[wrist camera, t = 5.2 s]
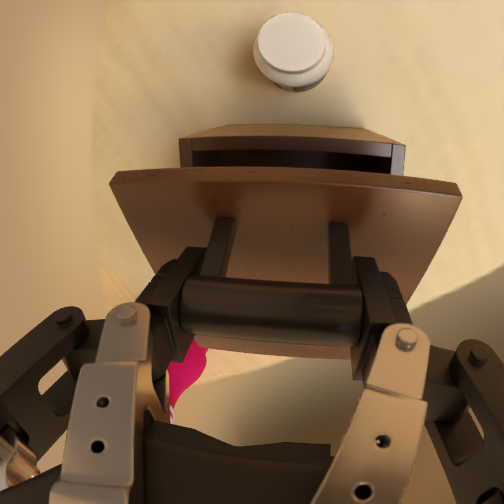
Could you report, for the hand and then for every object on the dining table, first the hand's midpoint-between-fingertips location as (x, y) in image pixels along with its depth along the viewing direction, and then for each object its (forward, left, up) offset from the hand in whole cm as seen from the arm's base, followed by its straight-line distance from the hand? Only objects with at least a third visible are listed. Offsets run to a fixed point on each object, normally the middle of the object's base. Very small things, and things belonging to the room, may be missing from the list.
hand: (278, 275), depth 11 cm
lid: (+3, 0, -4) cm, 5 cm away
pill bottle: (-10, 0, -19) cm, 21 cm away
